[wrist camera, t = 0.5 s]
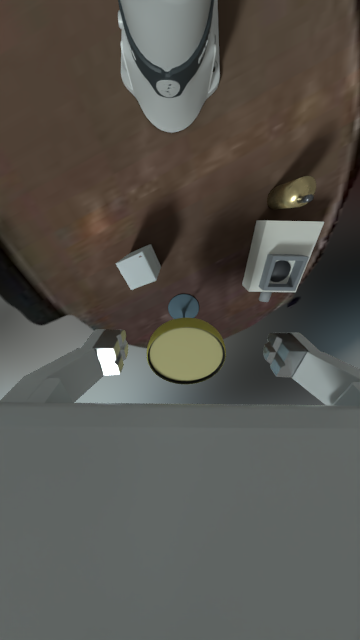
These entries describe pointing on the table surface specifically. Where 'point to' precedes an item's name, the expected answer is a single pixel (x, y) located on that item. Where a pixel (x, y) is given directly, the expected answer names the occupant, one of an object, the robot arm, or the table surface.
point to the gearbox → (279, 255)
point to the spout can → (292, 193)
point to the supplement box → (140, 267)
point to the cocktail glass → (185, 345)
